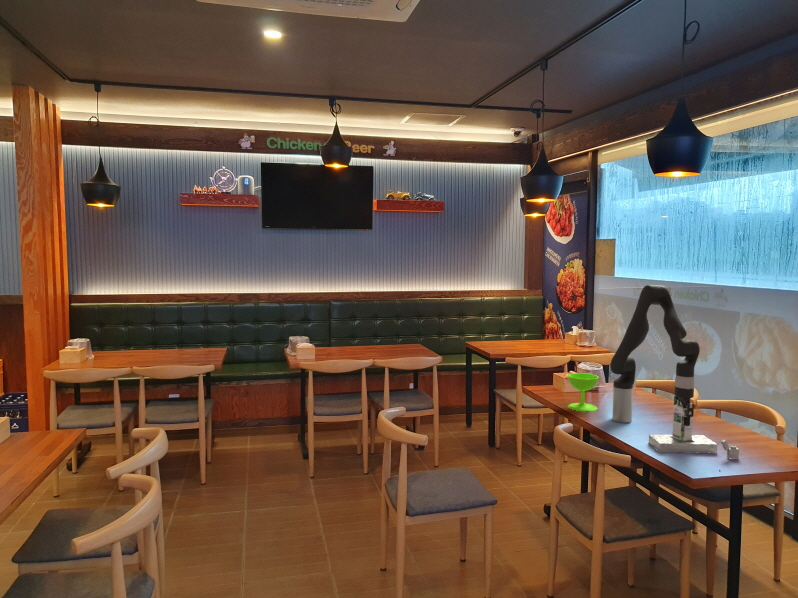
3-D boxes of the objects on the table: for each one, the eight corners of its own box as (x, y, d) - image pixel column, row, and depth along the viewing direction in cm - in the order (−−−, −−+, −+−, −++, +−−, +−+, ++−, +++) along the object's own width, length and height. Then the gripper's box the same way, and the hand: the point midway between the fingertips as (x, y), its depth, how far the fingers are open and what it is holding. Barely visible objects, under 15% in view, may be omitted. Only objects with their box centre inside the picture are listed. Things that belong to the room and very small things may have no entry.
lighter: (736, 457, 237) (737, 439, 237) (738, 459, 236) (739, 440, 235) (719, 458, 237) (720, 439, 236) (722, 459, 235) (723, 440, 235)
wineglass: (601, 412, 305) (602, 379, 303) (571, 412, 305) (572, 379, 304) (592, 404, 321) (593, 373, 319) (563, 404, 321) (564, 373, 320)
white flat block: (648, 443, 255) (649, 434, 255) (703, 444, 254) (703, 435, 254) (659, 452, 243) (659, 443, 243) (716, 453, 242) (717, 444, 242)
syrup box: (671, 437, 250) (673, 404, 249) (681, 435, 252) (683, 403, 251) (682, 441, 245) (683, 408, 244) (692, 439, 247) (694, 407, 246)
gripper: (668, 382, 254) (667, 418, 255) (683, 389, 240) (681, 427, 241) (685, 382, 254) (684, 418, 255) (701, 389, 239) (699, 428, 241)
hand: (682, 422), depth 248 cm, fingers closed on syrup box, 7 cm apart
